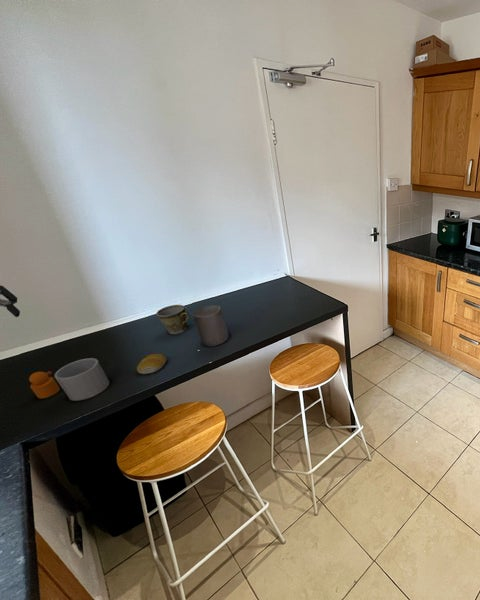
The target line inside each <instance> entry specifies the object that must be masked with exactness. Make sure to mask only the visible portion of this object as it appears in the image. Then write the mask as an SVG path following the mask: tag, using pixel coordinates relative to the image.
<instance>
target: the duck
mask: <svg viewBox="0 0 480 600" xmlns="http://www.w3.org/2000/svg"><path fill="white" fill-rule="evenodd" d="M51 374H53V372H52V371H47V372H45V371H36V372H33V373H32V374H30V375H29V378H28V381H29V382H30V383H31V384H30V386H29V387H30V389H31V390H32V392H33V393H34V394H35V396H36V398H38V399H47V398H50V397H52V396H54V395H56V394H58V392H60V390H61V387H60V385H58V382H57V381H56V379H55V378H54V377H53V376H50V375H51Z"/></svg>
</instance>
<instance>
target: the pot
mask: <svg viewBox="0 0 480 600" xmlns="http://www.w3.org/2000/svg"><path fill="white" fill-rule="evenodd" d="M54 379H55V381H56V382H57V384H59V387H60V388H61V389H62V391H63V392H64V393H65V395H66V397H67V398H68V399H69V400H70V401H72V402H73V401H74V402H76V401H77V402H79V401H83V400H87V399H90V398H93V397H95V396H98V394H100V393H102V392H103V391H105V390H106V389H107V388H108V387H109V385H110V379H109V378H108V376H107V374H106V373H105V371H104V369H103V367H102V365H101V364H100V362H99V360H98V359H97V358H94V357H89V358H82V359H77V360H75V361H73V362H70V363H67V364H66V365H64V366H62V367H61V368H59V369H58V370H57V371H56V372H55V373H54Z"/></svg>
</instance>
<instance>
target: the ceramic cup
mask: <svg viewBox="0 0 480 600" xmlns="http://www.w3.org/2000/svg"><path fill="white" fill-rule="evenodd" d="M186 315H187V317H186ZM156 316H157V318H158V319H159V321H160V322H161V323H162V324H163V326H164V327H165V329H166V331H167V332H168V333H169V334H170V335H178V334H182V333H184V332H185V331H187V330H188V325H187V321H188V320H189V319H190V318H191V317H190V316H191V315H190V313H189V312H187V311H186V307H185V306H184V305H183V304H171V305H167V306H165V307H162V308H160V309H159V310H157V312H156Z"/></svg>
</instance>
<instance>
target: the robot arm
mask: <svg viewBox="0 0 480 600" xmlns="http://www.w3.org/2000/svg"><path fill="white" fill-rule="evenodd" d="M0 296H3V297H4V298H5V299H3V298H0V307H4V308H6V310H7V311H8V312H9V313H10V314H11V315H13V316H14V317H15V318H19V317H20V314H21V311H20V309H19V308H18V307H16V306H15V305H14V304H17V303H18V297H17V296H16V295H14V294H13V293H12V292H11V291H10V290H8V288H6V287H5V286H4V285H0Z"/></svg>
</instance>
